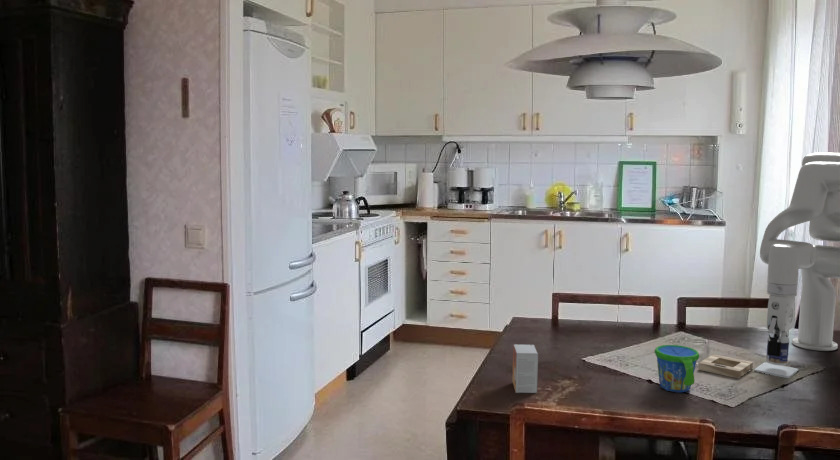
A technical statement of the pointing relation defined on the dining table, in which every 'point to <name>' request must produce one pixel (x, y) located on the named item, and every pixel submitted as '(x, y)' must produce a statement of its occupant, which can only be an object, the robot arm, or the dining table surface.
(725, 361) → the socket plate
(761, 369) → the coaster
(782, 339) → the pill bottle
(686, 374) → the snack cup
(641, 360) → the dining table surface
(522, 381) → the small box
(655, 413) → the dining table surface
